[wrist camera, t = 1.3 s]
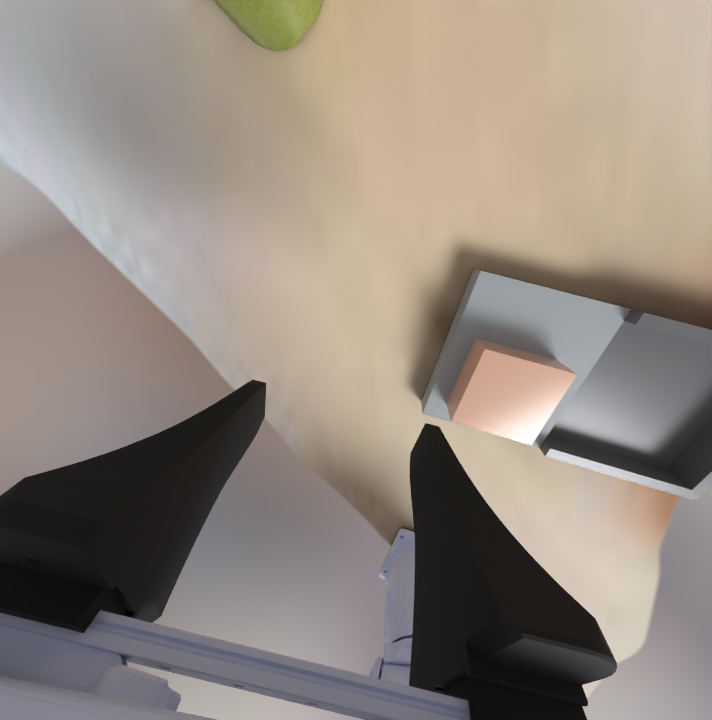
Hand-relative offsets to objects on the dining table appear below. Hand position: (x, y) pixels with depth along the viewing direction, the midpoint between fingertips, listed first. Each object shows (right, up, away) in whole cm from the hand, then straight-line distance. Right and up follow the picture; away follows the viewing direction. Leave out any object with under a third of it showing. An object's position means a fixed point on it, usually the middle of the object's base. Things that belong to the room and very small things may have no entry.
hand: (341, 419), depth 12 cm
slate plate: (+13, +3, +10) cm, 17 cm away
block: (+12, +1, +9) cm, 15 cm away
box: (+23, 0, +9) cm, 25 cm away
